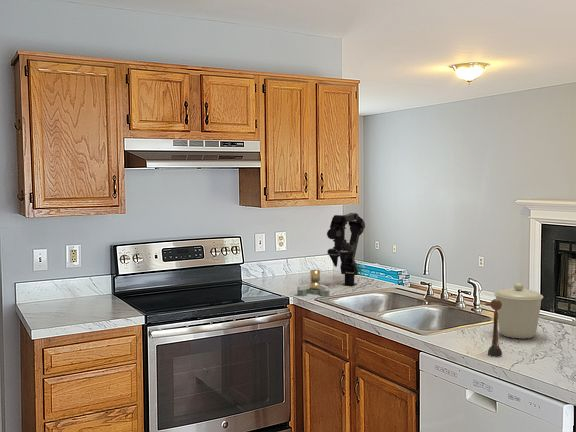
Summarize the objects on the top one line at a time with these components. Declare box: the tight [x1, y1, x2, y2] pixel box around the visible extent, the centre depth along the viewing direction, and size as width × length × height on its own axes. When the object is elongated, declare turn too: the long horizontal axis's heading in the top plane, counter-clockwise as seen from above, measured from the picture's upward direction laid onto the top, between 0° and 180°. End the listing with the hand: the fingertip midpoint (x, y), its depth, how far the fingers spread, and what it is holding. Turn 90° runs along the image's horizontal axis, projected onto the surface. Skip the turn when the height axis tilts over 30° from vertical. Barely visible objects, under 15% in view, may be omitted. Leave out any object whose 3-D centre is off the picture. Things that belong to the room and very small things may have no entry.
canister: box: [494, 282, 544, 340], centre depth 239 cm, size 18×18×21 cm
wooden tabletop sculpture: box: [485, 298, 503, 357], centre depth 214 cm, size 6×5×20 cm
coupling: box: [309, 269, 321, 291], centre depth 328 cm, size 5×5×12 cm
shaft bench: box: [296, 283, 330, 297], centre depth 322 cm, size 18×17×5 cm
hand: (339, 265), depth 338 cm, fingers open, 9 cm apart
